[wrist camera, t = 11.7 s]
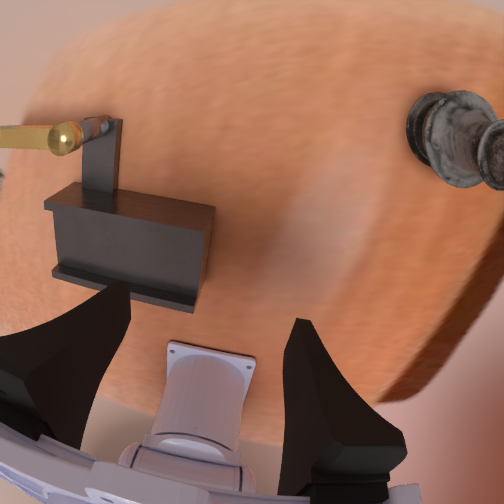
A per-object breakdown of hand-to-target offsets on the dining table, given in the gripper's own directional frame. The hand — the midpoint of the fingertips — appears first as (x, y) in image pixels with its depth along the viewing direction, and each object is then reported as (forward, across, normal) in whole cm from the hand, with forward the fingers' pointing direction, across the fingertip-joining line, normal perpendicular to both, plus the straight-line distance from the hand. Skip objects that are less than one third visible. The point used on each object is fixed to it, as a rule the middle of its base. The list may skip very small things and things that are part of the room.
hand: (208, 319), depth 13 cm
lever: (+6, +14, -5) cm, 16 cm away
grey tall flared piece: (+10, -12, -10) cm, 19 cm away
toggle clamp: (+10, +7, -1) cm, 12 cm away
